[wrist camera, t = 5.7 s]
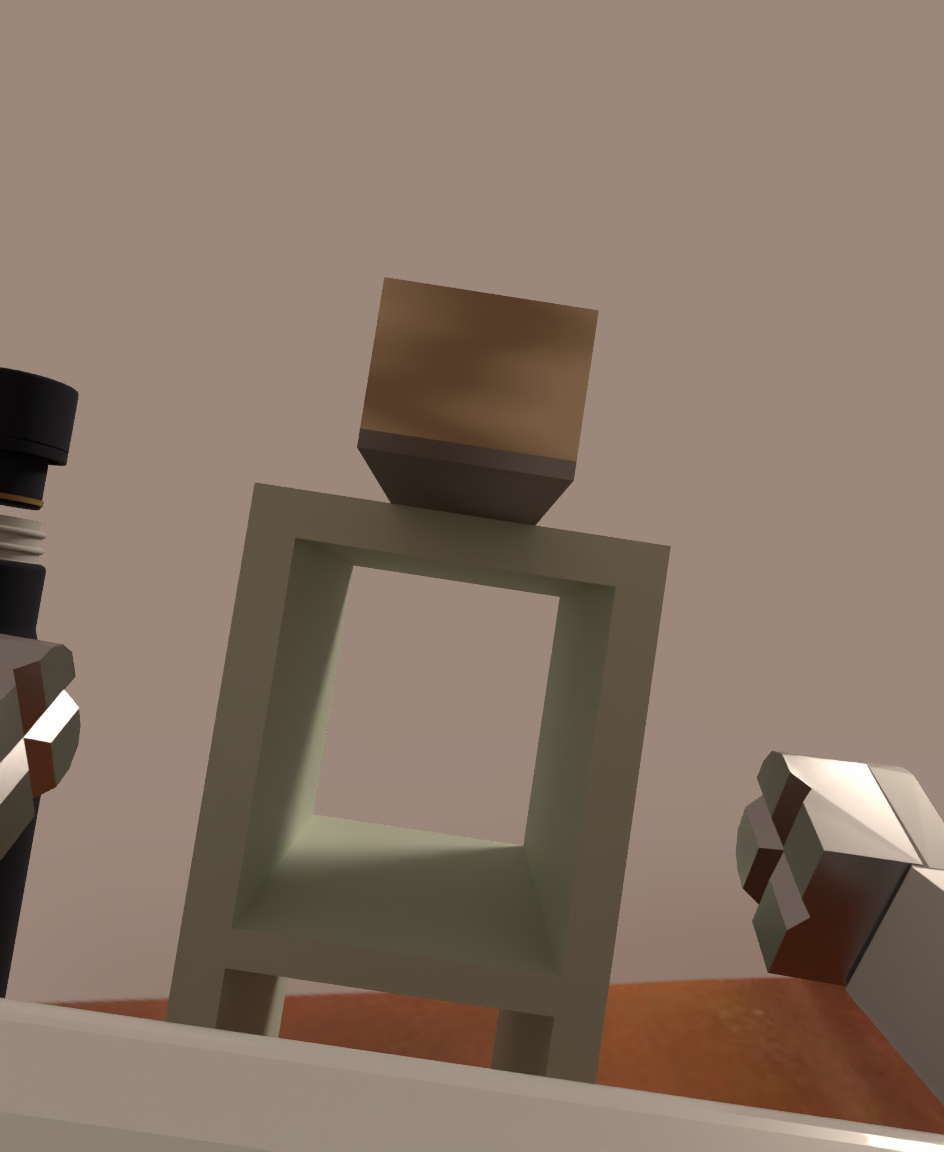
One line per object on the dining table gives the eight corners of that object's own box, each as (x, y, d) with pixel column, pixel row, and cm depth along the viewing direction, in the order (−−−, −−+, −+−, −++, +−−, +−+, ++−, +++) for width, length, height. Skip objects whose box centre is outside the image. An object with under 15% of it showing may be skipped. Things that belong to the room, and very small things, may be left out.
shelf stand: (515, 1122, 38) (595, 570, 39) (548, 1417, 24) (670, 546, 25) (238, 1082, 38) (327, 529, 39) (109, 1354, 24) (254, 482, 25)
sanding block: (512, 551, 36) (524, 470, 36) (573, 480, 17) (598, 310, 17) (410, 536, 36) (423, 455, 36) (357, 447, 17) (384, 276, 17)
